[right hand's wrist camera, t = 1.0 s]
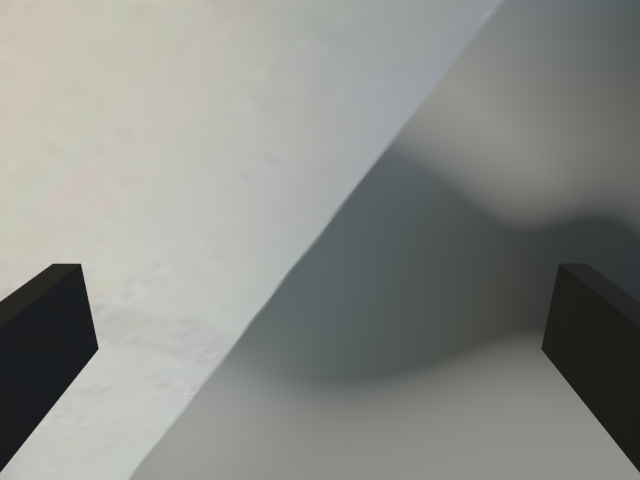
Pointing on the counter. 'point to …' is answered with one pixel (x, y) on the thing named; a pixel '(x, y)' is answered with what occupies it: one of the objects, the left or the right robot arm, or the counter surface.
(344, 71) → the counter surface
